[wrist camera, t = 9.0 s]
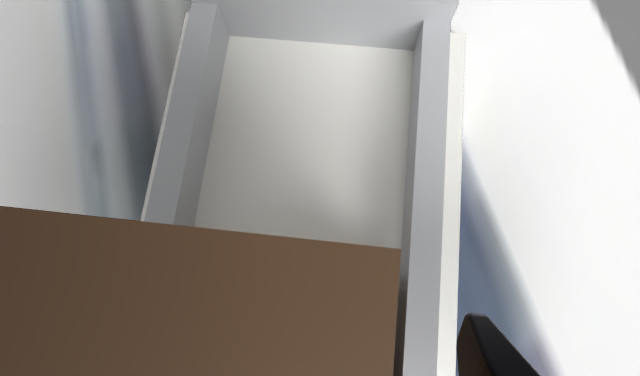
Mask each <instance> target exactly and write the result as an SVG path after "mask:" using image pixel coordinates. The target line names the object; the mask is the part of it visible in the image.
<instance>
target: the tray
mask: <svg viewBox="0 0 640 376" xmlns="http://www.w3.org/2000/svg"><path fill="white" fill-rule="evenodd" d="M191 2H192V3H191V7H190V12H186V14H185V19H184V23H183V28H182V32H181V37H180V41H179V46H178V50H177V55H176V60H175V64H174V69H173V73H172V78H171V82H170V87H169V91H168V96H167V101H166V105H165V110H164V114H163V119H162V123H161V128H160V133H159V137H158V142H157V146H156V151H155V155H154V160H153V164H152V169H151V174H150V178H149V183H148V187H147V192H146V196H145V201H144V206H143V210H142V215H141V219H140V221H144V222H153V223H163V224H172V225H181V226H191V227H200V228H209V229H219V230H228V231H237V232H247V233H256V234H265V235H275V236H284V237H293V238H303V239H312V240H321V241H331V242H340V243H349V244H358V245H368V246H377V247H386V248H396V249H401V258H400V273H399V289H398V305H397V320H396V336H395V352H394V367H393V376H455V367H456V334H457V301H458V268H459V235H460V202H461V168H462V135H463V102H464V69H465V36H466V33H454V32H450V31H451V21H452V18H453V16H454V13H455V11H456V9H457V6H458V4H459V0H191Z"/></svg>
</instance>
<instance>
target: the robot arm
mask: <svg viewBox="0 0 640 376" xmlns="http://www.w3.org/2000/svg"><path fill="white" fill-rule="evenodd" d="M457 359H458V370H459V376H540V375H539V374H538V373H537V371H536V370H535V369H534V368H533V367H532V366H531V365H530V364H529V362H528V361H527V360H526V359H525V358H524V357H523V356H522V354H521V353H520V352H519V351H518V350H517V349H516V348H515V347H514V345H513V344H512V343H511V342H510V341H509V340H508V339H507V337H506V336H505V335H504V334H503V333H502V332H501V331H500V330H499V328H498V327H497V326H496V325H495V324H494V323H493V322H492V320H491V319H490V318H489V317H488V316H486V315H483V314H475V313H467V314H466V315H465V317H464V320H463V323H462V326H461V329H460V332H459V335H458V338H457Z"/></svg>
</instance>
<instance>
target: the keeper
mask: <svg viewBox="0 0 640 376" xmlns="http://www.w3.org/2000/svg"><path fill="white" fill-rule="evenodd" d="M400 258H401V249H396V248H386V247H377V246H368V245H358V244H349V243H340V242H331V241H321V240H312V239H303V238H293V237H284V236H275V235H265V234H256V233H247V232H237V231H228V230H219V229H209V228H200V227H191V226H181V225H172V224H163V223H153V222H144V221H135V220H126V219H116V218H107V217H98V216H88V215H79V214H70V213H60V212H51V211H42V210H32V209H23V208H14V207H4V206H0V376H393V367H394V352H395V336H396V320H397V305H398V289H399V273H400Z"/></svg>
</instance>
